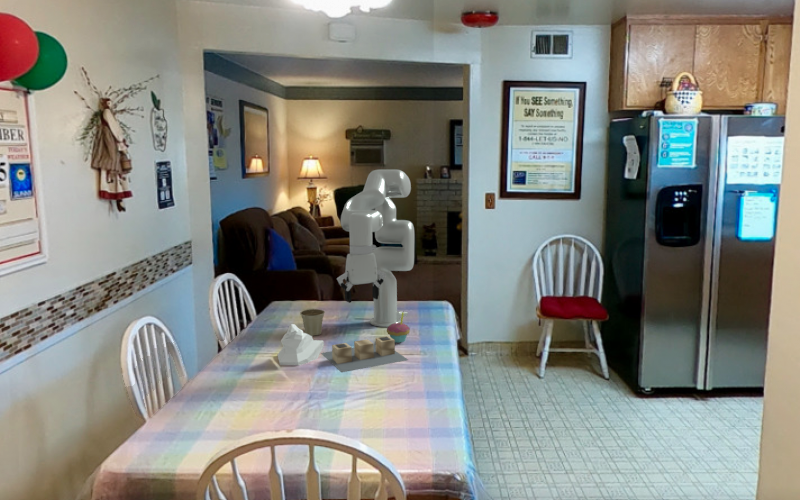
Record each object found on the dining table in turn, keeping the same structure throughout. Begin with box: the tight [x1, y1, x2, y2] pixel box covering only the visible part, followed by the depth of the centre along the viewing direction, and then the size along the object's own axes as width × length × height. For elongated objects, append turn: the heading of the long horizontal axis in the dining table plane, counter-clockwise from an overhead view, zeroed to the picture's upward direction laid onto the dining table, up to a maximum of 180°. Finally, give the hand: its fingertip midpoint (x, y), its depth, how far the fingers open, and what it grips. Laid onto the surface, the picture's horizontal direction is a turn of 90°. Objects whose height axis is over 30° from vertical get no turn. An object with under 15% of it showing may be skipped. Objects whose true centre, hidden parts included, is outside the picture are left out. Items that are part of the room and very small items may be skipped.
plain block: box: [353, 338, 374, 360], centre depth 199 cm, size 5×5×5 cm
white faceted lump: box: [277, 323, 325, 366], centre depth 196 cm, size 12×15×14 cm
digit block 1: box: [331, 342, 352, 364], centre depth 196 cm, size 5×5×5 cm
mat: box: [320, 343, 409, 373], centre depth 200 cm, size 24×20×1 cm
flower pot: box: [300, 308, 326, 337], centre depth 226 cm, size 9×9×9 cm
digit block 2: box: [375, 335, 396, 356], centre depth 203 cm, size 5×5×5 cm
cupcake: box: [386, 310, 411, 343], centre depth 215 cm, size 9×8×12 cm
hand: (362, 300), depth 196 cm, fingers open, 9 cm apart
